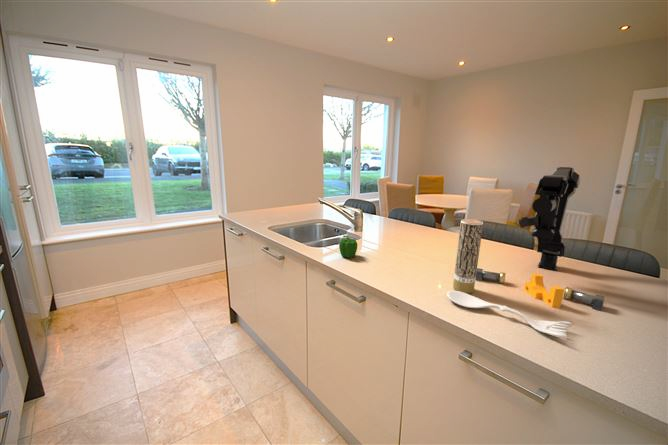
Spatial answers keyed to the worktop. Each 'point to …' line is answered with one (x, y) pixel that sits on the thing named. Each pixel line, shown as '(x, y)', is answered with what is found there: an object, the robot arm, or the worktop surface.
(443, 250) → the worktop surface
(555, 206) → the robot arm
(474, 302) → the white plastic spork
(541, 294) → the pipe clamp
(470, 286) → the paper tube
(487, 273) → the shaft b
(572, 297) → the shaft
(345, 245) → the bell pepper
